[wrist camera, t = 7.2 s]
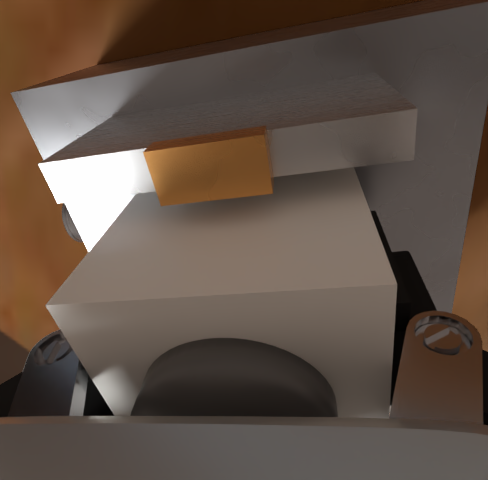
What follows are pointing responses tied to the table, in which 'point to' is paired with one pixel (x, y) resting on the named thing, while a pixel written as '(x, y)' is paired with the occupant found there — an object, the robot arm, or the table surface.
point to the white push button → (238, 305)
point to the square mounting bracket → (284, 124)
